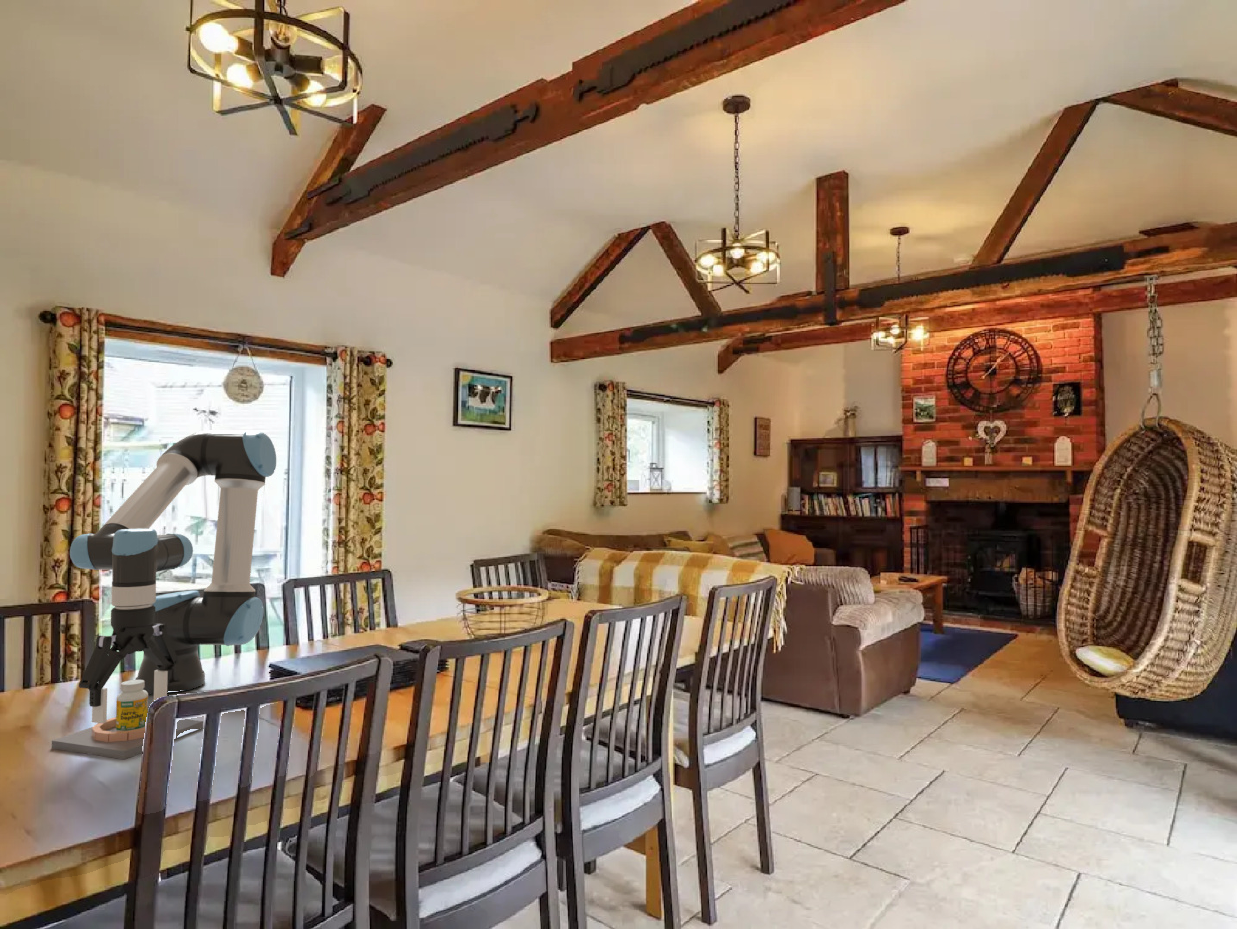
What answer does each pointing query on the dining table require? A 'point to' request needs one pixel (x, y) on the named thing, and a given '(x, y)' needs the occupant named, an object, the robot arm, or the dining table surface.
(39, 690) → the dining table surface
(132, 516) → the robot arm
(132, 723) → the supplement bottle
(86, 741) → the coaster stand
